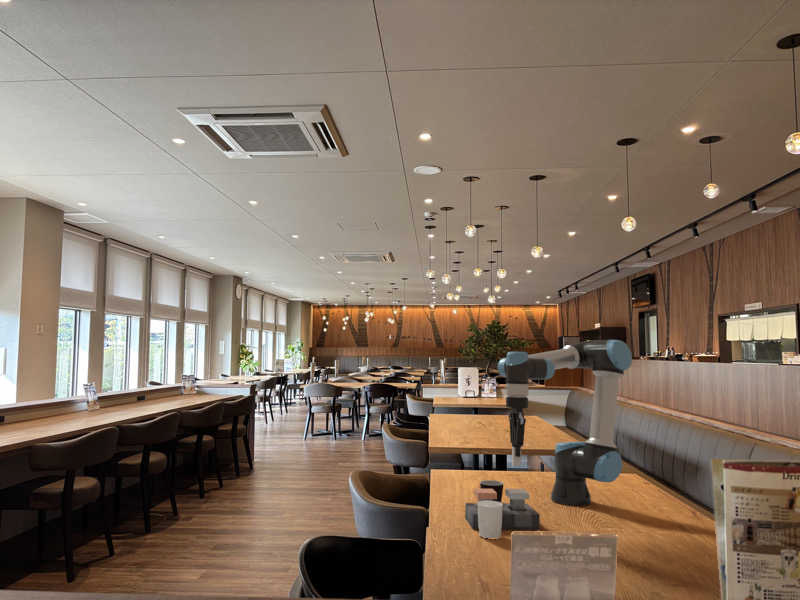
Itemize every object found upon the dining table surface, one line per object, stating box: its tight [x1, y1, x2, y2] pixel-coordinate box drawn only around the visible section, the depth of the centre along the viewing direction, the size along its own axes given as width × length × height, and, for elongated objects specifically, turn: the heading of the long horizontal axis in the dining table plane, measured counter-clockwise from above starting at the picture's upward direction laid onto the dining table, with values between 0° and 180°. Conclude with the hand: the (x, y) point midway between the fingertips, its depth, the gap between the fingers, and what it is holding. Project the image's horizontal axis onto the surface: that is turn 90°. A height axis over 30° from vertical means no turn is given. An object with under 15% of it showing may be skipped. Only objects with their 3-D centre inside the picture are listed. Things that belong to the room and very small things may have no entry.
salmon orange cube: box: [473, 488, 497, 503], centre depth 189 cm, size 6×6×6 cm
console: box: [464, 502, 541, 531], centre depth 189 cm, size 22×14×5 cm, turn 94°
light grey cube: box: [505, 488, 530, 511], centre depth 190 cm, size 6×6×6 cm
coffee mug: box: [479, 479, 504, 503], centre depth 207 cm, size 12×9×10 cm
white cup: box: [476, 501, 503, 539], centre depth 176 cm, size 8×8×10 cm
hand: (516, 465), depth 191 cm, fingers closed
